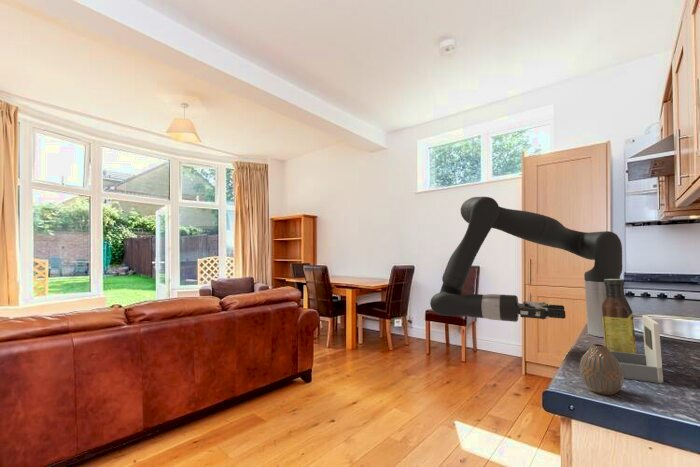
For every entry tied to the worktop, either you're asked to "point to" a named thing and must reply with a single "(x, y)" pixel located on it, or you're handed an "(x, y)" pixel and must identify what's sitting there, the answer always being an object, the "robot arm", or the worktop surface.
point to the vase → (601, 370)
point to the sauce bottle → (617, 318)
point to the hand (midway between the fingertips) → (564, 311)
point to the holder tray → (644, 356)
